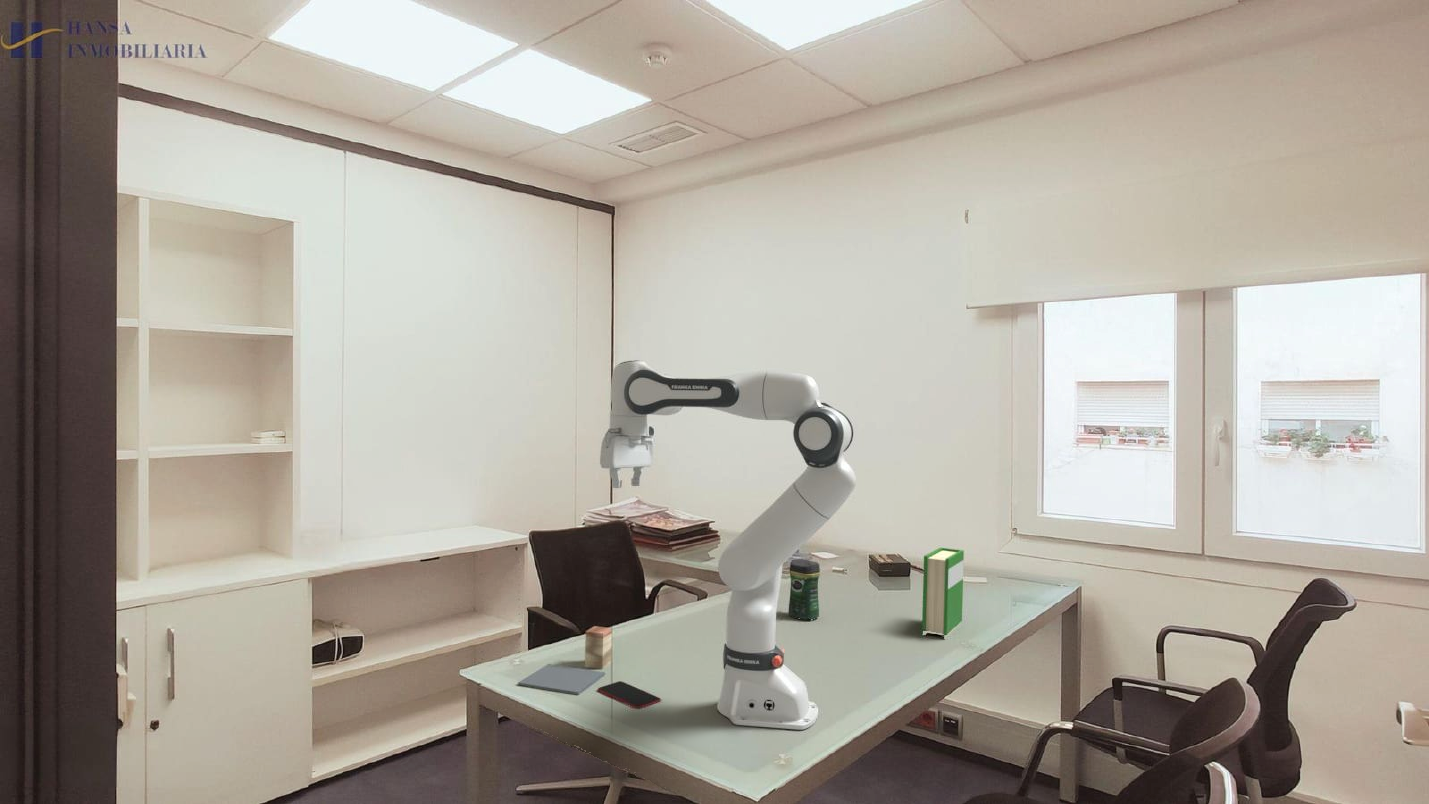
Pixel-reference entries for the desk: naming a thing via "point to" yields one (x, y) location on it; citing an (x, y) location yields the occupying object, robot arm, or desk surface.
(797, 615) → the coffee jar
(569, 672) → the rubber mat
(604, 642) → the beech block
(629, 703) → the smartphone
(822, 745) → the desk surface
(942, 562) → the hardback book
